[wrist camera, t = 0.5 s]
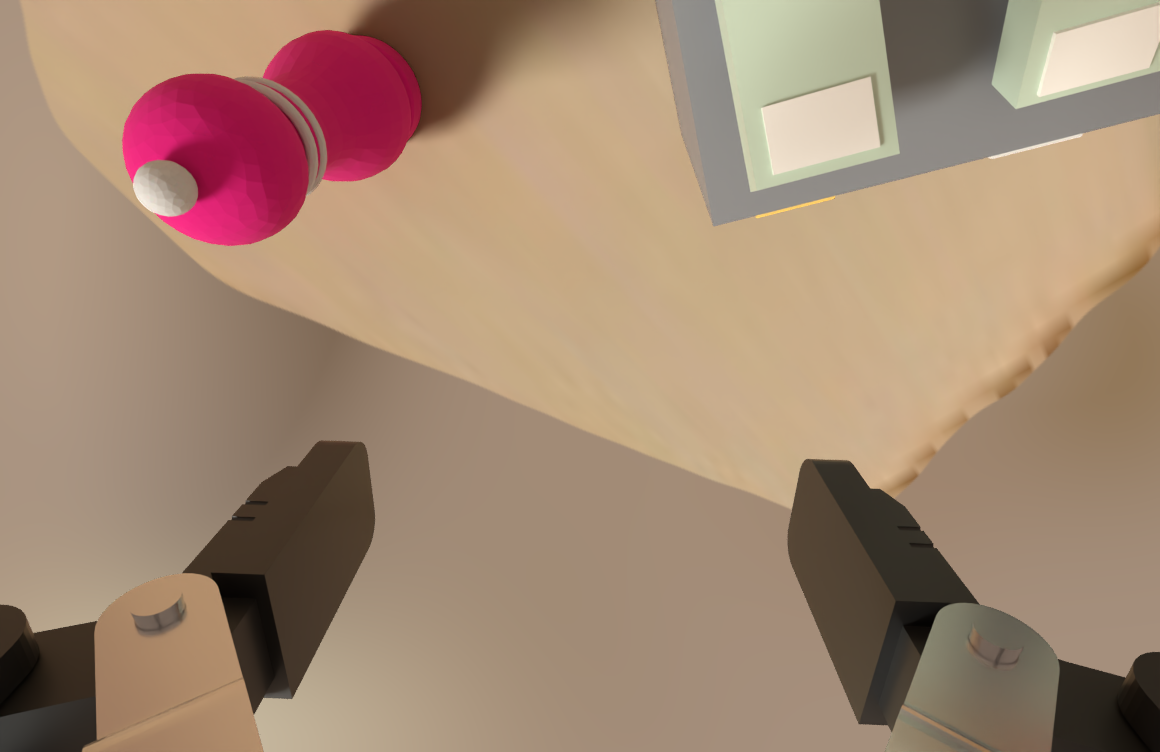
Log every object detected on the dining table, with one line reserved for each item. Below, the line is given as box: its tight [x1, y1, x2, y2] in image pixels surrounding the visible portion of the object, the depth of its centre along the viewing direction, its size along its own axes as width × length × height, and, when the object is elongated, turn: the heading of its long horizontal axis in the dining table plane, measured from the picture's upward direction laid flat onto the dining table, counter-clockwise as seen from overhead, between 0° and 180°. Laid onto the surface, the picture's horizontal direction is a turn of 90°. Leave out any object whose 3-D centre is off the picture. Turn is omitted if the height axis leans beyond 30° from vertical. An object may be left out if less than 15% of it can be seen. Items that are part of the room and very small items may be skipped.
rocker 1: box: [715, 0, 900, 192], centre depth 17 cm, size 9×4×2 cm, turn 16°
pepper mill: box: [122, 30, 422, 246], centre depth 28 cm, size 7×7×20 cm
